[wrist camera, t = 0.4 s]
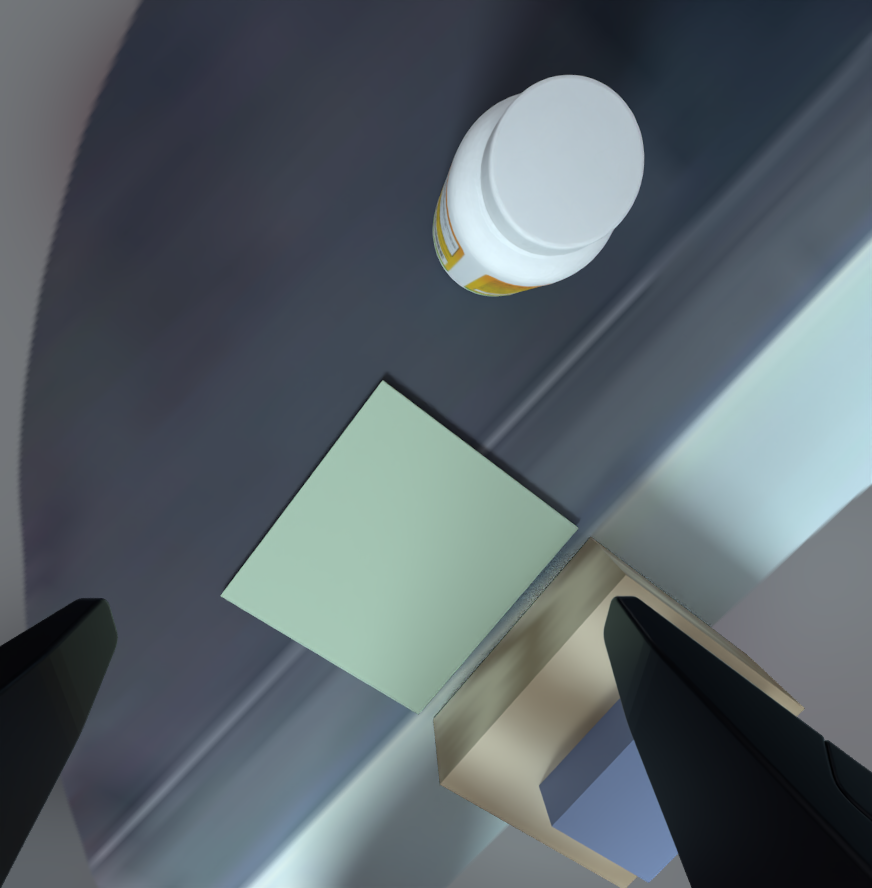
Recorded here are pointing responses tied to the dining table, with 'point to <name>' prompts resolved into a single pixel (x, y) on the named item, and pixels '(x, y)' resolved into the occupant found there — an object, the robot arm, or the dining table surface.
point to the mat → (399, 552)
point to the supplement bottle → (538, 186)
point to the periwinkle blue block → (610, 799)
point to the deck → (556, 697)
